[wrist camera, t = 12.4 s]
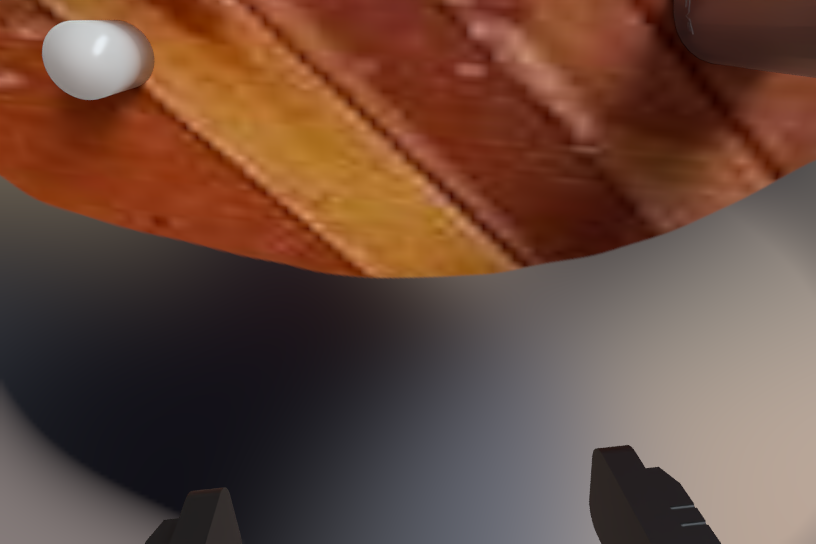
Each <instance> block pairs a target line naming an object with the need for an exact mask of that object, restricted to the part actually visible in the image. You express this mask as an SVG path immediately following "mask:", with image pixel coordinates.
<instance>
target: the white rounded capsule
mask: <svg viewBox="0 0 816 544" xmlns="http://www.w3.org/2000/svg"><path fill="white" fill-rule="evenodd" d="M42 56H43V62H44V65H45V68H46V70H47V72H48V74H49V76H50V77H51V79H52V80H53V81H54V83H55V84H56V85H57V86H58V87H59V88H61V89H62V90H63V91H64V92H66V93H68V94H69V95H71V96H74V97H76V98H79V99H84V100H96V99H100V98H104V97H107V96H110V95H113V94H116V93H120V92H123V91H126V90H129V89H132V88H135V87H138V86H140V85H142V84H143V83H145V82H146V81H147V80H148V79H149V77H150V76H151V74H152V71H153V68H154V53H153V49H152V47H151V44H150V42H149V41H148V39H147V38H146V36H145V35H144V34H143V33H142V32H141V31H140V30H139V29H138V28H136V27H135V26H133V25H131V24H130V23H127V22H124V21H120V20H73V21H65V22H62V23H60V24H58V25H56V26H54V27H53V28H52V29H51V30H50V31H49V32H48V34H47V35H46V37H45V40H44V43H43V48H42Z"/></svg>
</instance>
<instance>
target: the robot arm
mask: <svg viewBox="0 0 816 544" xmlns="http://www.w3.org/2000/svg"><path fill="white" fill-rule="evenodd" d="M674 20H675V25H676V30H677V32H678V34H679V36H680V38H681V41H682V42H683V44H684V45H685V46H686V47H687V49H688V50H689V51H690V52H691V53H692V54H694V55H695V56H696V57H698V58H699V59H701V60H704V61H707V62H709V63H713V64H720V65H728V66H735V67H742V68H747V69H754V70H761V71H769V72H776V73H784V74H791V75H799V76H806V77H813V78H816V0H674ZM589 505H590V513H591V518H592V522H593V525H594V528H595V531H596V533H597V535H598V537H599V540H600V542H601V544H721V543H720V541H719V540H718V538H717V537H716V535H715V534H714V532H713V531H712V530H711V528H710V527H709V525H706V523H705V520H704V518H703V516H702V515H701V513H700V512H699V511H698V509H697V508H695V507H694V503H693V502H692V500H691V499H690V497H689V496H688V494H687V493H686V492H685V490H684V489H683V487H682V486H681V484H680V483H679V482H678V481H676V480H675V479H674V478H672V477H671V476H670V475H669V474H667V473H666V472H665V471H663V470H662V469H661V468H659V467H655V468H645V467H644V465H643V463H642V462H641V460H640V459H639V457H638V455H637V454H636V452H635V451H634V449H633V448H632V447H631V446H629V445H625V446H616V447H607V448H597V449H595V450H594V451H593V456H592V469H591V484H590V498H589ZM145 544H242V540H241V536H240V532H239V528H238V524H237V521H236V516H235V513H234V509H233V505H232V501H231V497H230V494H229V491H228V489H227V488H217V489H208V490H198V491H191V492H190V493H189V494H188V495H187V498H186V500H185V503H184V506H183V508H182V511H181V514H180V517H179V518H178V519H169V520H164V521H163V522H162V523H161V524H160V526H159V527H158V528H157V529H156V530H155V531H154V533H153V534H152V535H151V536H150V537H149V538H148V540H147V541H146V542H145Z"/></svg>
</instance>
